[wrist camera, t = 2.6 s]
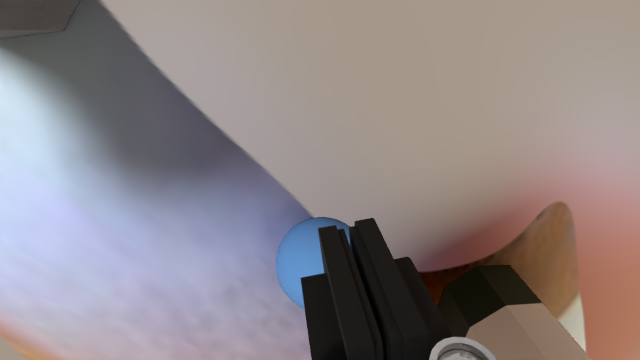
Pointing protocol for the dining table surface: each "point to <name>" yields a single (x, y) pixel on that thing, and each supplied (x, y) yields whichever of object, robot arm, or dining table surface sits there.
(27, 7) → the coffeepot
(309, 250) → the ball
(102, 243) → the dining table surface
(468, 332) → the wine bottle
